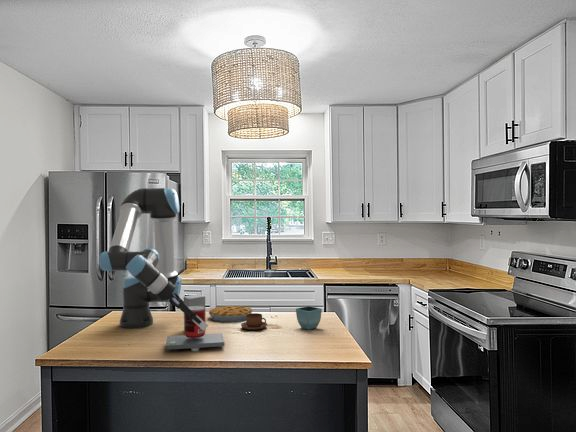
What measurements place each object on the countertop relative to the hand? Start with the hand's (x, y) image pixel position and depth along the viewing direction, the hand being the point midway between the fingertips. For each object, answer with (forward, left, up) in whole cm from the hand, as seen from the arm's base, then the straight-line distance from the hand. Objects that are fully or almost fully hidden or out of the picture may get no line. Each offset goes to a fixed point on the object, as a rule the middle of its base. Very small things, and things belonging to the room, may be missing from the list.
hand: (203, 325), depth 187 cm
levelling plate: (+1, -3, -8) cm, 9 cm away
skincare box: (-25, -3, -8) cm, 27 cm away
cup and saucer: (-24, +23, -9) cm, 35 cm away
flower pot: (-18, +48, -8) cm, 52 cm away
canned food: (+1, -3, -4) cm, 5 cm away
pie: (-48, +15, -9) cm, 51 cm away
